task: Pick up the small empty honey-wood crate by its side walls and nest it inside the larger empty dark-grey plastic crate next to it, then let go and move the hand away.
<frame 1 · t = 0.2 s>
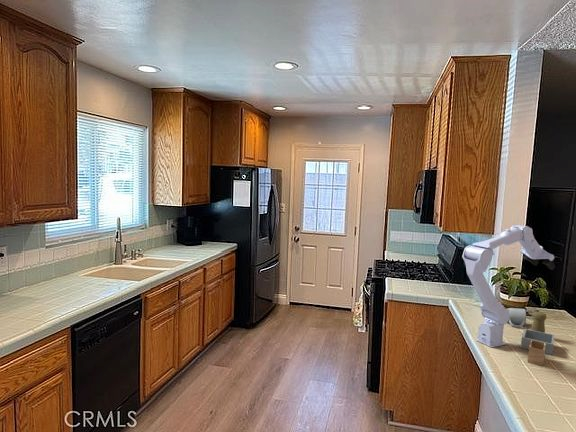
hand: (544, 266, 182), 32 cm above the worktop, tool tilted 50°, fingers open, 7 cm apart
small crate: (536, 360, 159), on the worktop
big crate: (537, 346, 172), on the worktop
cork: (537, 336, 184), on the worktop
ceramic mug: (516, 325, 198), on the worktop
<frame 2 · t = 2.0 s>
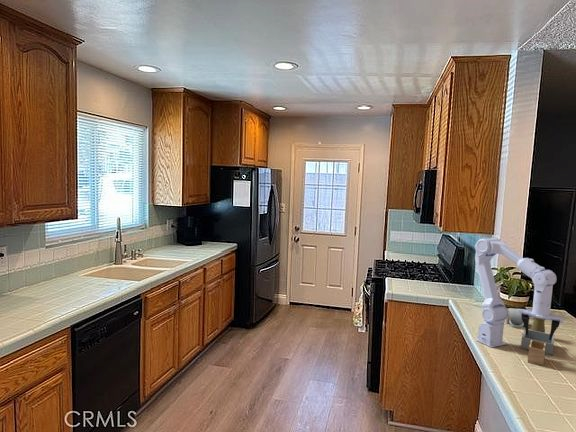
hand: (538, 336, 158), 9 cm above the worktop, tool pointing down, fingers open, 7 cm apart
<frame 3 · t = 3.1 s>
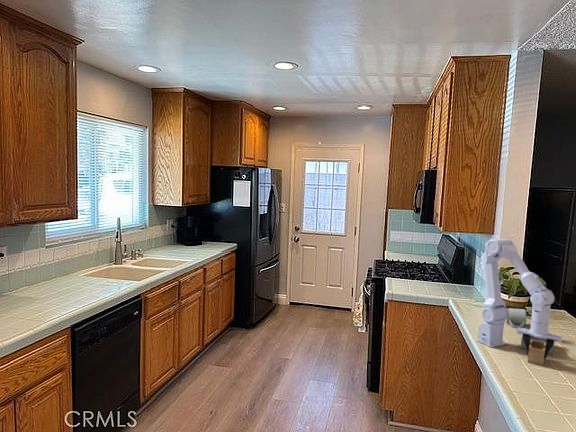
hand: (536, 355, 158), 2 cm above the worktop, tool pointing down, fingers closed on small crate, 5 cm apart
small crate: (536, 360, 159), on the worktop, touching gripper
everything else where it was.
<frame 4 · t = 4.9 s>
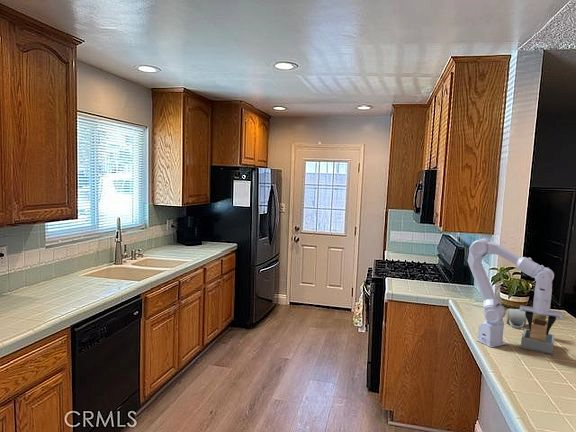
hand: (538, 332, 164), 9 cm above the worktop, tool pointing down, fingers closed on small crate, 5 cm apart
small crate: (538, 337, 164), point 7 cm above the worktop, touching gripper
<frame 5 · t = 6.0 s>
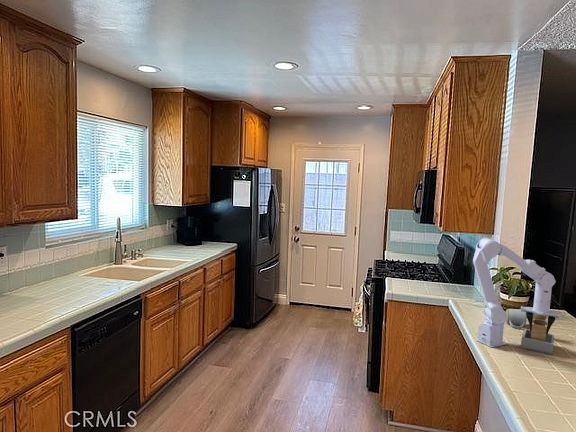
hand: (538, 332, 171), 6 cm above the worktop, tool pointing down, fingers closed on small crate, 5 cm apart
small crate: (538, 336, 171), point 4 cm above the worktop, touching gripper
when the fingers open (4 cm above the worktop, at t = 6.9 s): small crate drops 1 cm, resting on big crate.
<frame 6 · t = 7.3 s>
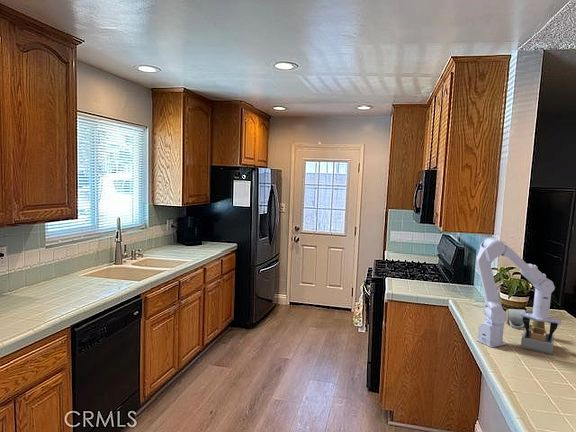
hand: (538, 338, 172), 4 cm above the worktop, tool pointing down, fingers open, 7 cm apart
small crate: (537, 344, 172), point 1 cm above the worktop, touching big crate
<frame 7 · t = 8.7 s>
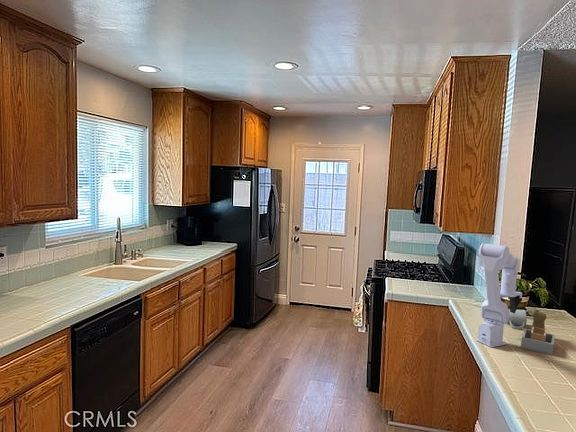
hand: (505, 313, 185), 9 cm above the worktop, tool pointing down, fingers open, 7 cm apart
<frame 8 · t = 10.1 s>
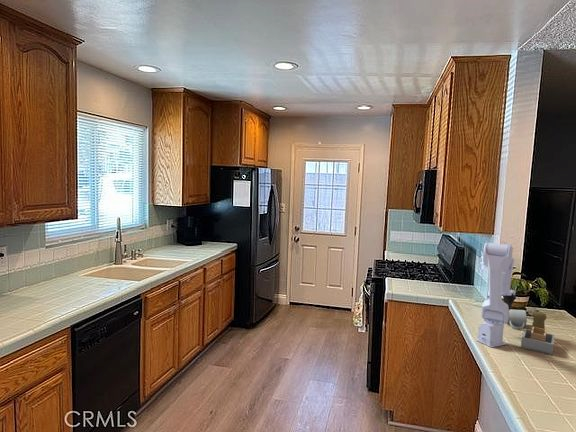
hand: (500, 311, 187), 9 cm above the worktop, tool pointing down, fingers open, 7 cm apart
at the end: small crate 0.3 cm off-centre on the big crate, point 0.8 cm above the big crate's base; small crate tilted 0°; the gripper is holding nothing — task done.
